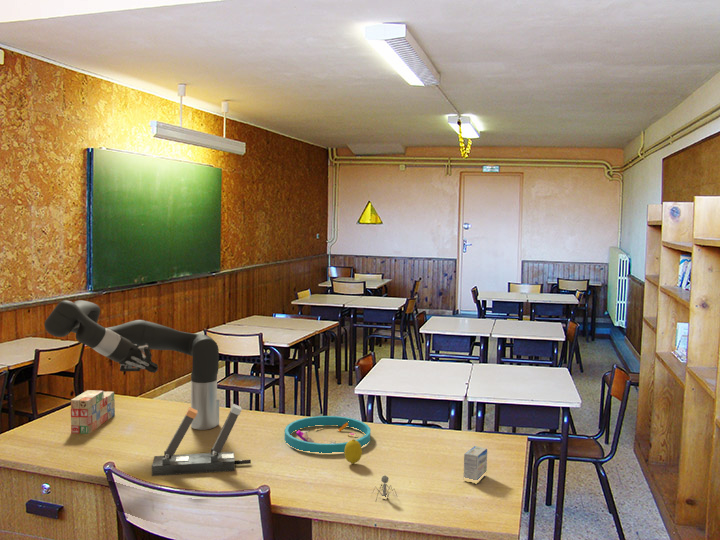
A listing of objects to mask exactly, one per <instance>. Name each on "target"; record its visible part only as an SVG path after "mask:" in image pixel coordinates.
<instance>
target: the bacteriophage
mask: <svg viewBox="0 0 720 540" xmlns="http://www.w3.org/2000/svg"><path fill="white" fill-rule="evenodd" d="M380 481H381V484H380V486H379V489H377V493H380V496H385V497H386V495H387V496H388V497H390V492H389V490H393V491H394V492H395V495H396V496H398V495H397V492H396V490H395V488H393V487H392V486H388V484H387V483H388V482H389V477H388V476H387V475H382V477H381V480H380ZM376 488H377V487H376V486H375V487H374V489H373V491H372V492H374V490H375V489H376ZM387 488H388V489H387ZM392 488H393V489H392ZM381 491H382V493H381ZM378 496H379V494H377V495H376V499H375V501H377V500H378Z"/></svg>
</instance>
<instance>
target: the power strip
mask: <svg viewBox="0 0 720 540" xmlns="http://www.w3.org/2000/svg"><path fill="white" fill-rule="evenodd" d="M210 450H211V451H210V452H203V453H186V454H174V455H173V456H170V455H169V458H165V455H166V450H164V451H163V452H164V455H154V456H153V460H152V464H151V477H159V476H173V475H175V476H177V475H189V474H190V475H191V474H206V473H209V474H210V473H221V472H235V471H236V470H235V465H236V466H237V465H249V464H251V463H252V462H251V459H238V460H235V451H221V453H218V452H216V455H212V453H213V447H211V449H210Z"/></svg>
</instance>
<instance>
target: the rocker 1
mask: <svg viewBox="0 0 720 540" xmlns="http://www.w3.org/2000/svg"><path fill="white" fill-rule="evenodd" d="M196 415H197V410H195V409H193V408H191V406H189V407H188V409H187V411H186V413H185V414H184V417H183V418H182V421H181V423H180V424H179V426H178V427H177V430H176V431H175V433H174V435H173V437H172V438H171V440H170V442H169V444H168V446H167V448H166V450H165V451H166V455H165V458H169V455H170V456H173V455H175V453H176V451H177V449H178V448H179V446H180V444H181V442H182V441H183V439H184V437H185V435H186V433H187V432H188V431H189V428H190V427H191V423H192V421H193V419H195V417H196Z"/></svg>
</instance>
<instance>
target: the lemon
mask: <svg viewBox="0 0 720 540" xmlns="http://www.w3.org/2000/svg"><path fill="white" fill-rule="evenodd" d="M356 440H357V439H355V438H353V439H351V440H349V441H347V442H348V443H347V444H346V446H345V450H344V453H345V454H344V457H345V459H346V461H347V462H349V463H351V464H352V463H354V464H355V463H357V462H359V461H360V460H361V458H362V455H363V449H362V448H361V445H360V443H359V442H358V441H356Z"/></svg>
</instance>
